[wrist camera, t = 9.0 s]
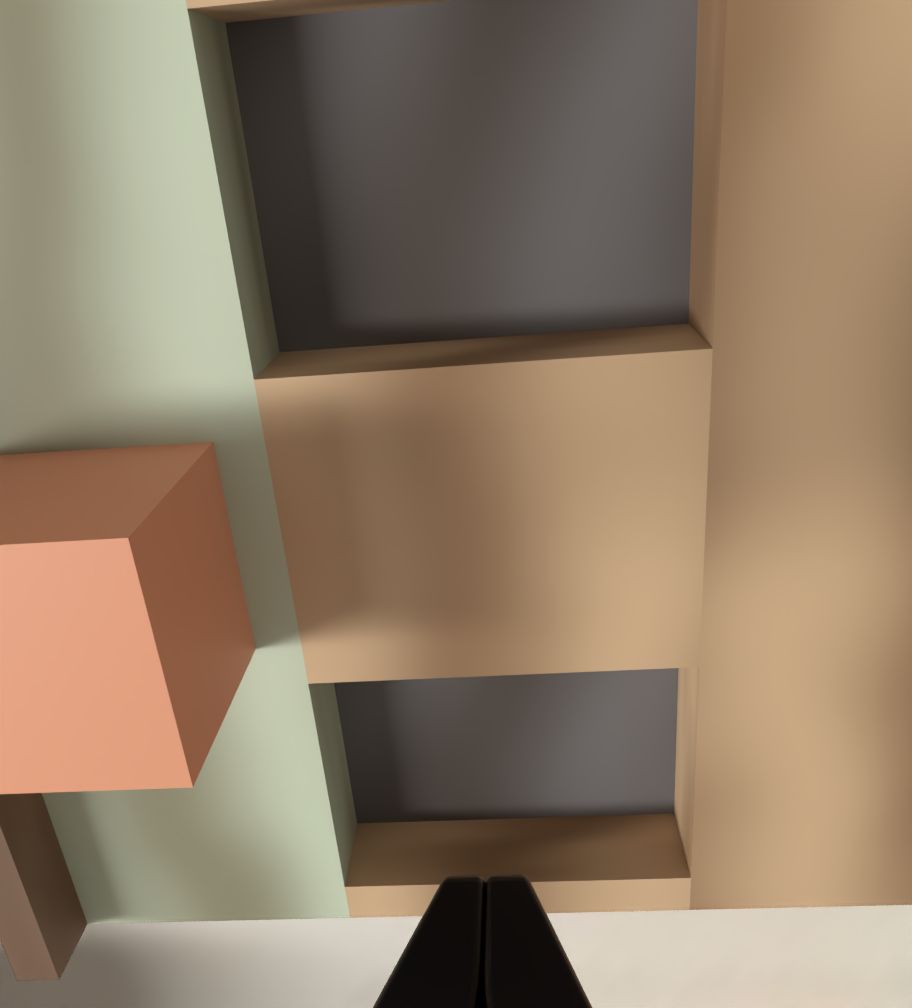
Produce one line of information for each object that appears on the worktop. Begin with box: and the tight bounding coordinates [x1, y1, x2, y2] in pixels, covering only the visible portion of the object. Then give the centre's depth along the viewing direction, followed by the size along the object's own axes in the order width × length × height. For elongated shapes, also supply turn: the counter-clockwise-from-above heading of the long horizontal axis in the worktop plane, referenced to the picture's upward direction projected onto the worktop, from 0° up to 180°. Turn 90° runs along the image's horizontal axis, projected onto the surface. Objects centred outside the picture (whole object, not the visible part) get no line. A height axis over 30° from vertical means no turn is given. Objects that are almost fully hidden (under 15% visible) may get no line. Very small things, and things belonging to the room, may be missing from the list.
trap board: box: [0, 0, 912, 980], centre depth 17 cm, size 27×20×4 cm
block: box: [0, 442, 256, 794], centre depth 15 cm, size 4×4×4 cm
